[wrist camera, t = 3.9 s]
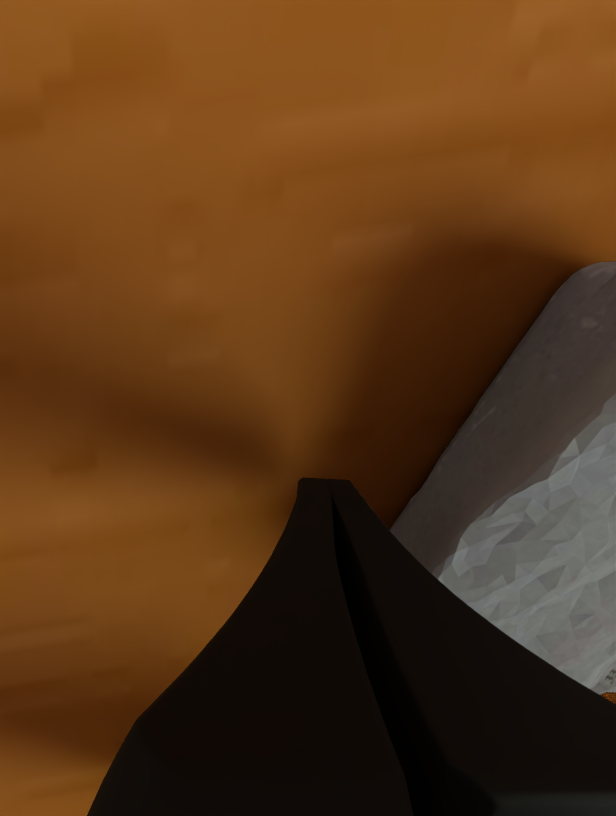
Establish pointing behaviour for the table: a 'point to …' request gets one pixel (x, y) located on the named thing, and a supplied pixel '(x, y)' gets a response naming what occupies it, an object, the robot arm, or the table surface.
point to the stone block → (537, 489)
